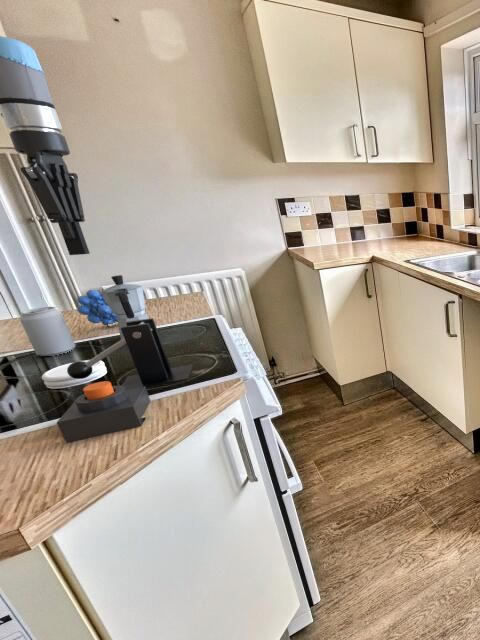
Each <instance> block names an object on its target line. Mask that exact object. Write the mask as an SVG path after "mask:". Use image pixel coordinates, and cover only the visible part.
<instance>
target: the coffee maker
mask: <svg viewBox="0 0 480 640" xmlns="http://www.w3.org/2000/svg"><path fill="white" fill-rule="evenodd" d="M110 278H111V279H112V281H113V282H114V285H112V286H110V287H107V288H105V289H102V290H100V291H99V292H100V294H102V296H103V297H104V299H105V301H106V303H107V304H108V306H109V308H110V309H111V311H112V313H114V314H116V316H117V321H118V323H117V326H118V331H119V336H120V340H122V339H124V336H123V333H122V331H121V327H125V326H127V324H126V323H127V322H129V321H136V320H143V319H150V318H149V316H148V314H147V312H146V311H145V309H147V308H146V307H147V306H146V299H145V295H144V290H143V285H139V284H131V283H124V277H123V275H122V274H121V275H120V274H119V275H112V276H110Z"/></svg>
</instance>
